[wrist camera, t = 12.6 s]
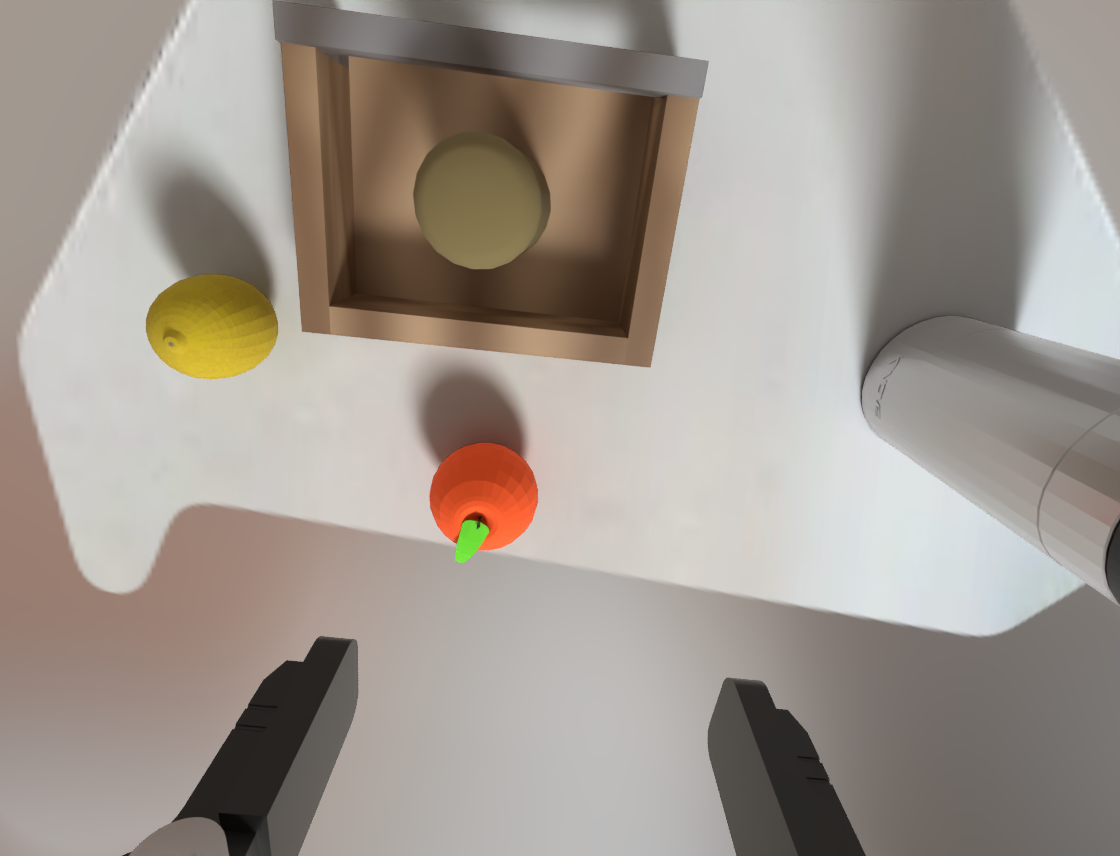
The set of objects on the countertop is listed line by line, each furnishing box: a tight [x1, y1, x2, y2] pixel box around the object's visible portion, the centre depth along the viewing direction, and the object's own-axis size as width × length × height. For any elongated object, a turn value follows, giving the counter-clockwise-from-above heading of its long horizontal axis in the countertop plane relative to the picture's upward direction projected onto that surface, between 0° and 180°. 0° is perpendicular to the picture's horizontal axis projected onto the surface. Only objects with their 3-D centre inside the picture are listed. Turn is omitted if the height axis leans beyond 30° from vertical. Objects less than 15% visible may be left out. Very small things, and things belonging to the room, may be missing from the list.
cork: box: [413, 131, 551, 269], centre depth 25 cm, size 6×6×11 cm
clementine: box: [430, 443, 538, 563], centre depth 35 cm, size 8×7×7 cm
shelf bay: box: [272, 0, 709, 367], centre depth 29 cm, size 19×14×6 cm
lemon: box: [146, 274, 278, 379], centre depth 30 cm, size 6×6×8 cm
